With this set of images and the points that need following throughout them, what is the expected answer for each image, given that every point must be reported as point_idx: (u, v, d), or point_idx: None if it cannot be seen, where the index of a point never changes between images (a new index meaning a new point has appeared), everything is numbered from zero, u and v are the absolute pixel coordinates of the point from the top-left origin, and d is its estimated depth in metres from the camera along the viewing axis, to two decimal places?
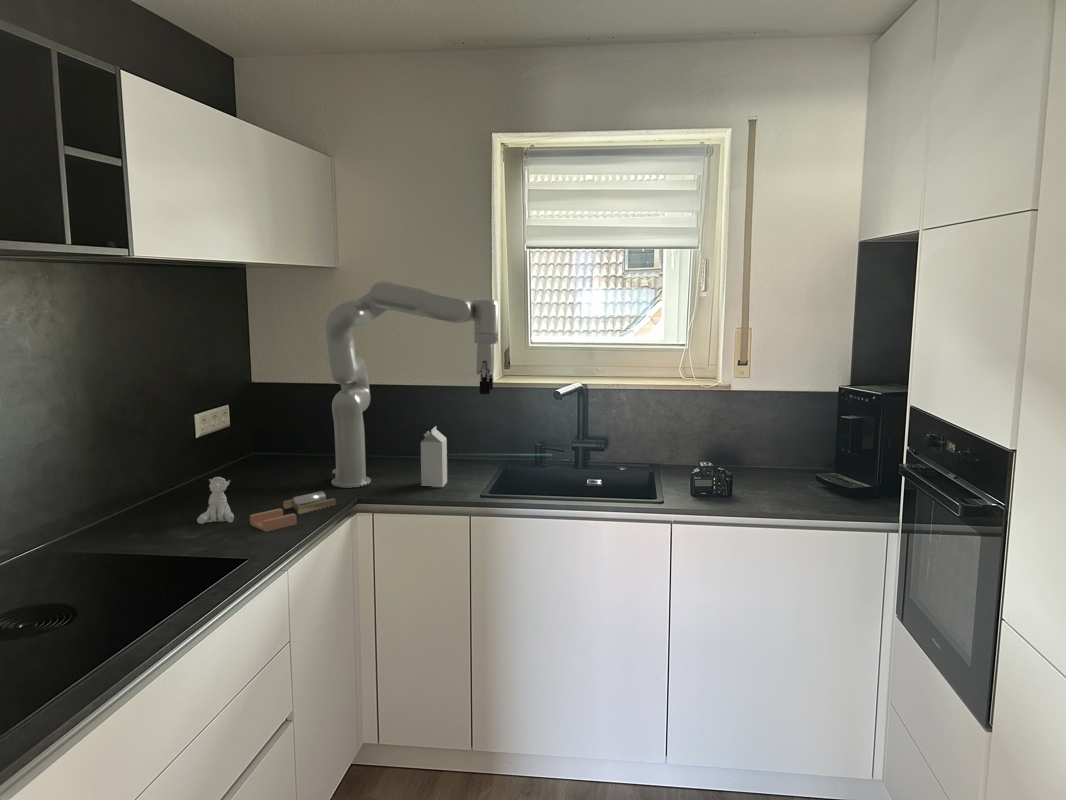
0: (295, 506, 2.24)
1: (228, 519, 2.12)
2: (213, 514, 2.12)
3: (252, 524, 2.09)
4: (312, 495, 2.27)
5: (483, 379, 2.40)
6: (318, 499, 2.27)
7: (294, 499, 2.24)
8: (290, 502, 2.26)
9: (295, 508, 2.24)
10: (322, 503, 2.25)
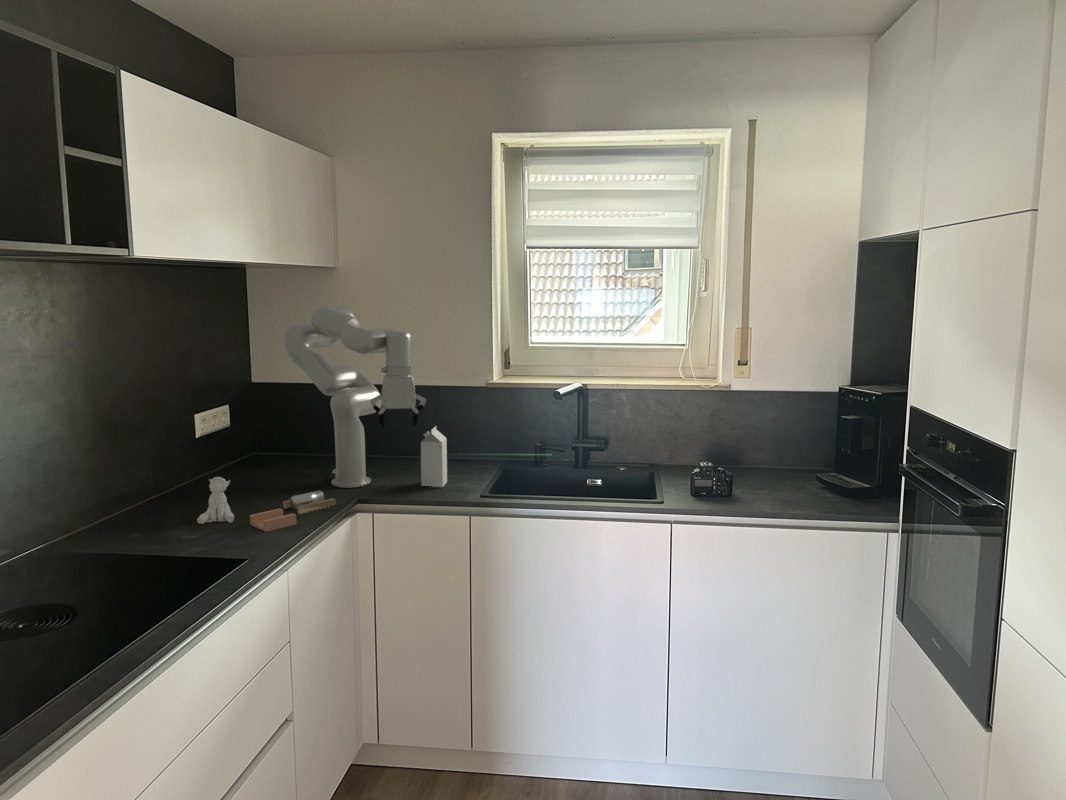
0: (294, 505, 2.24)
1: (228, 519, 2.12)
2: (213, 514, 2.12)
3: (252, 524, 2.09)
4: (308, 493, 2.28)
5: (419, 410, 2.39)
6: (315, 495, 2.28)
7: (291, 499, 2.25)
8: None
9: (294, 507, 2.24)
10: (322, 503, 2.25)
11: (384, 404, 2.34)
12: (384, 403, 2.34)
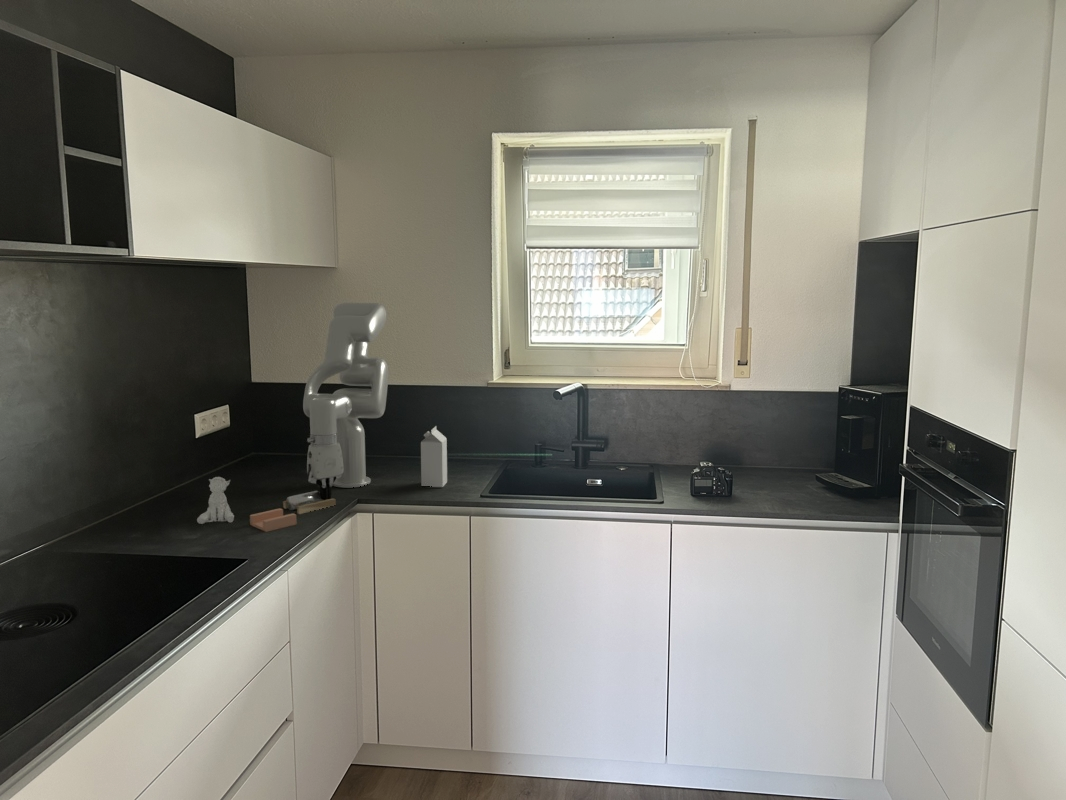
0: (290, 505, 2.23)
1: (228, 519, 2.12)
2: (213, 514, 2.12)
3: (252, 524, 2.09)
4: (304, 493, 2.27)
5: None
6: (311, 495, 2.27)
7: (287, 500, 2.24)
8: None
9: (291, 508, 2.23)
10: (322, 503, 2.25)
11: (316, 475, 2.25)
12: (316, 474, 2.25)
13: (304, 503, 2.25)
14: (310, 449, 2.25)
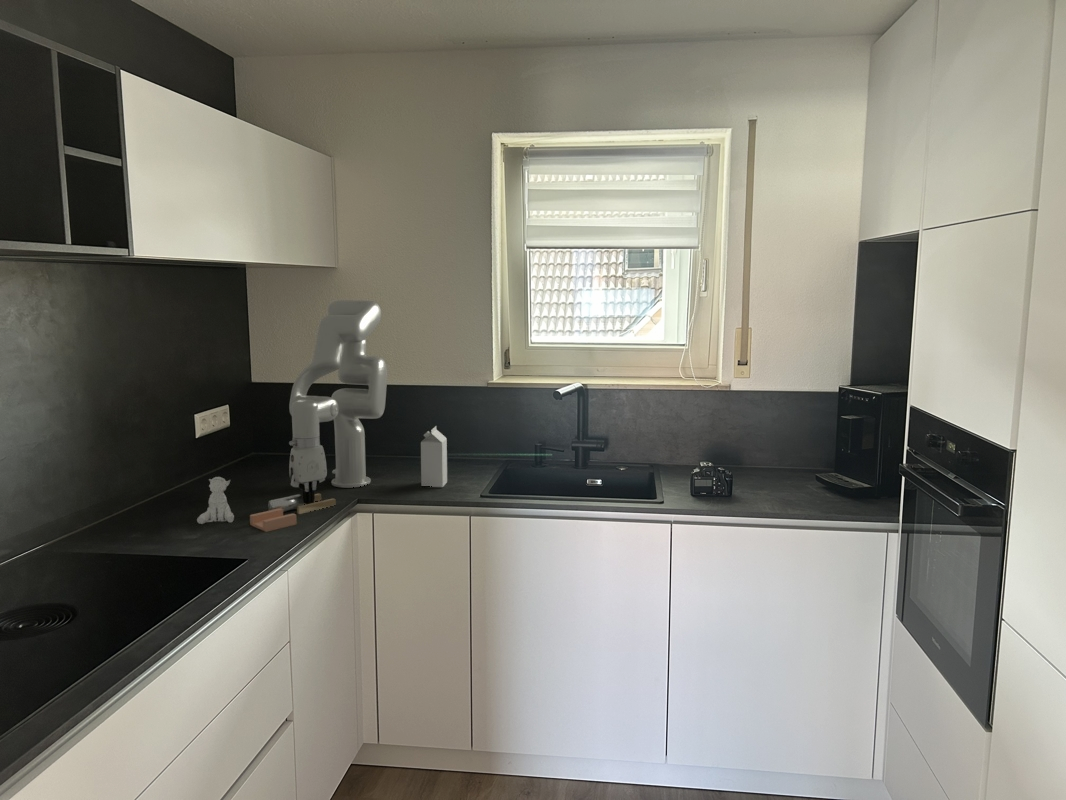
0: (272, 509, 2.19)
1: (228, 519, 2.12)
2: (213, 514, 2.12)
3: (252, 524, 2.09)
4: (287, 497, 2.23)
5: None
6: (293, 499, 2.23)
7: (269, 504, 2.20)
8: None
9: None
10: (322, 503, 2.25)
11: (298, 479, 2.21)
12: (298, 478, 2.21)
13: (286, 507, 2.21)
14: (292, 452, 2.21)
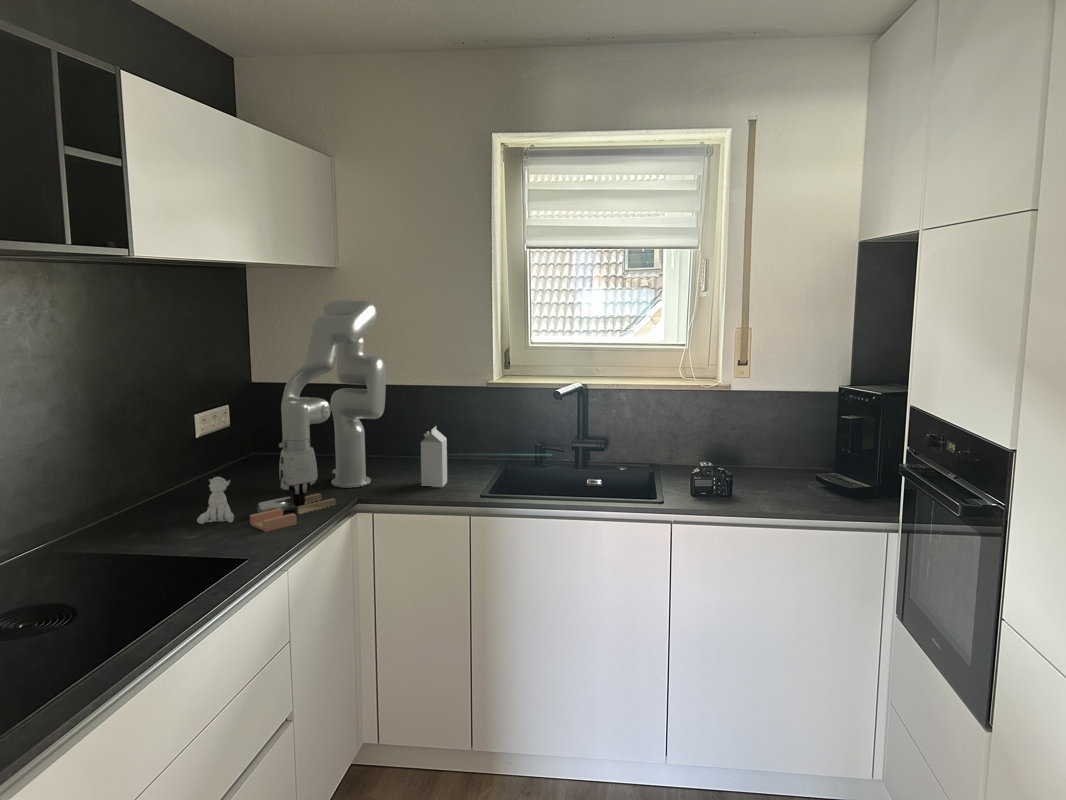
0: (261, 511, 2.17)
1: (228, 519, 2.12)
2: (213, 514, 2.12)
3: (252, 524, 2.09)
4: (276, 499, 2.21)
5: None
6: (283, 501, 2.21)
7: (258, 506, 2.18)
8: None
9: None
10: (322, 503, 2.25)
11: (288, 481, 2.18)
12: (288, 480, 2.18)
13: None
14: (282, 454, 2.19)
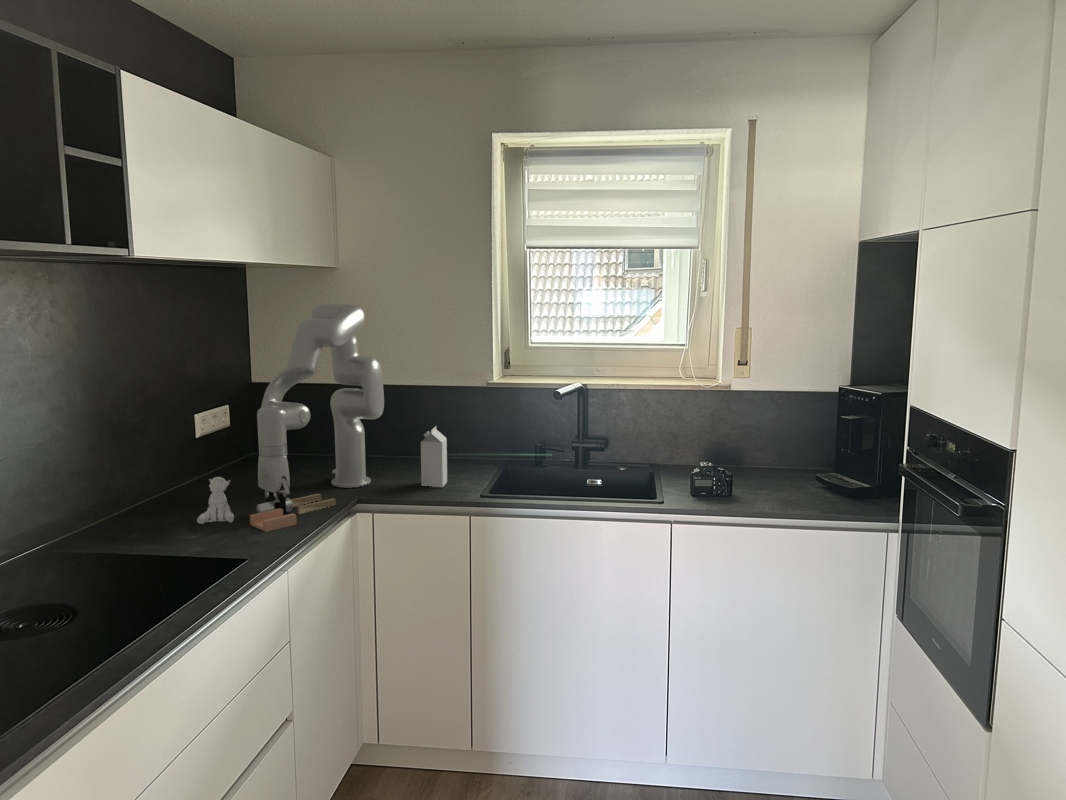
0: None
1: (228, 519, 2.12)
2: (213, 514, 2.12)
3: (252, 524, 2.09)
4: None
5: (282, 499, 2.16)
6: None
7: (259, 506, 2.16)
8: None
9: None
10: (322, 503, 2.25)
11: (258, 483, 2.19)
12: (258, 482, 2.19)
13: None
14: None
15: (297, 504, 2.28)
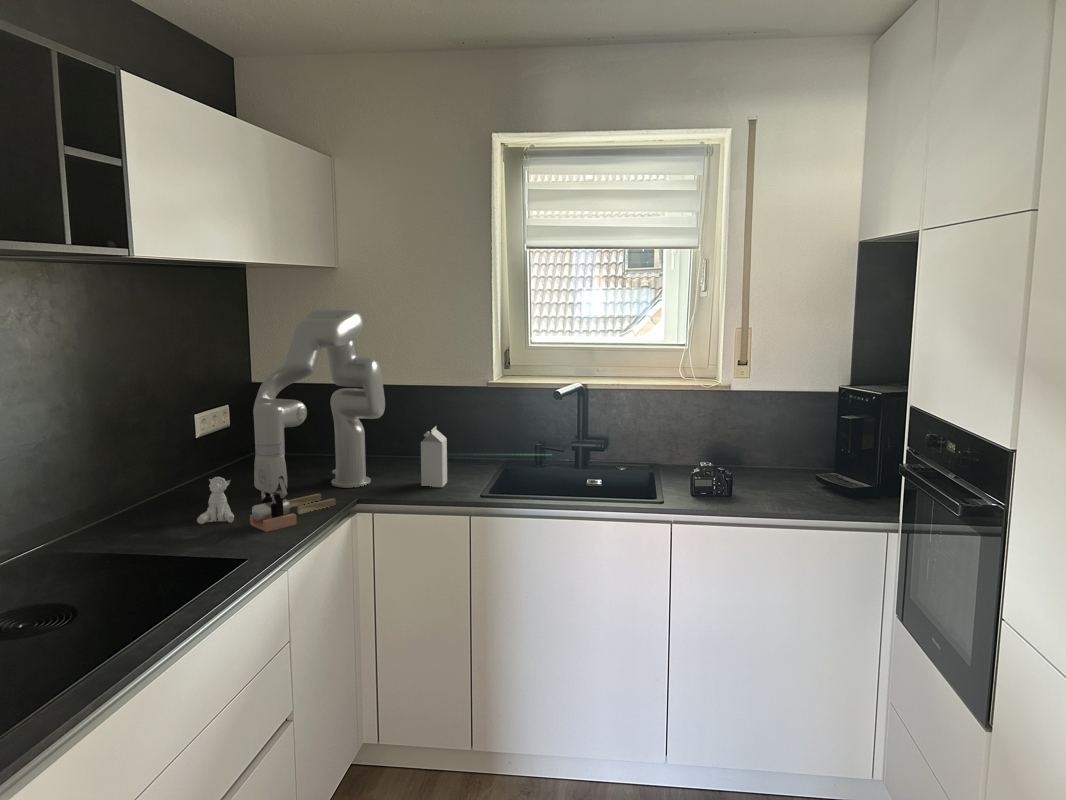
0: (255, 515, 2.06)
1: (228, 519, 2.12)
2: (213, 514, 2.12)
3: (252, 524, 2.09)
4: None
5: (279, 501, 2.06)
6: None
7: (254, 508, 2.06)
8: (290, 502, 2.26)
9: (255, 517, 2.06)
10: (322, 503, 2.25)
11: (254, 483, 2.10)
12: (254, 482, 2.10)
13: (270, 516, 2.08)
14: None
15: (297, 504, 2.28)
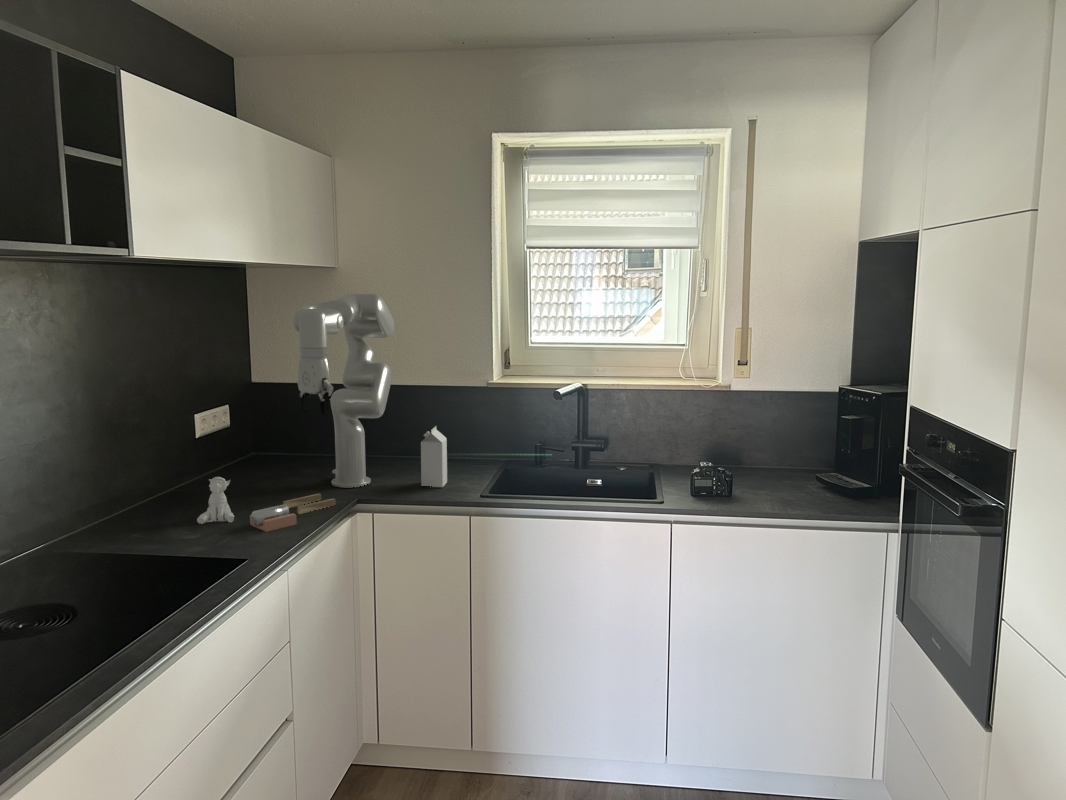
0: (255, 520, 2.07)
1: (228, 519, 2.12)
2: (213, 514, 2.12)
3: (252, 524, 2.09)
4: (273, 508, 2.09)
5: (327, 398, 2.18)
6: (280, 513, 2.10)
7: (253, 513, 2.07)
8: (290, 502, 2.26)
9: (255, 523, 2.07)
10: (322, 503, 2.25)
11: (298, 386, 2.23)
12: (298, 385, 2.23)
13: None
14: None
15: (297, 504, 2.28)
